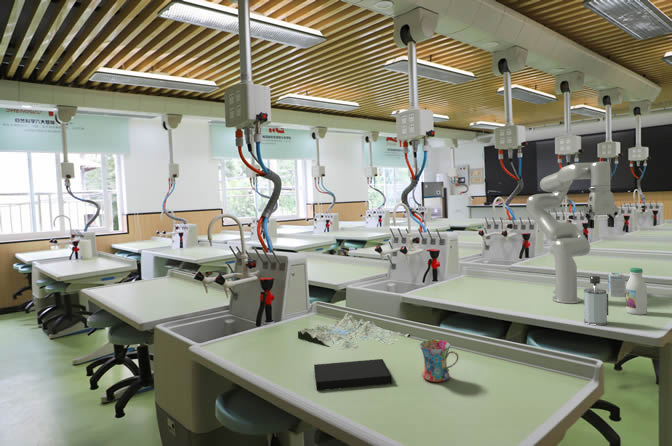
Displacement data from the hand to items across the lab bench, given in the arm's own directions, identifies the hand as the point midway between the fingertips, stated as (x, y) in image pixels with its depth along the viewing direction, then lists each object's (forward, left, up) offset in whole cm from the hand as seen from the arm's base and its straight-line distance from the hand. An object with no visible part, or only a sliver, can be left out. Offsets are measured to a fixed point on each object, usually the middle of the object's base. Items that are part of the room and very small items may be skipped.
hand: (600, 227), depth 196 cm
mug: (+52, -96, -38) cm, 116 cm away
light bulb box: (-26, +29, -39) cm, 55 cm away
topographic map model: (+5, -115, -39) cm, 122 cm away
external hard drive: (+45, -123, -39) cm, 136 cm away
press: (+14, -14, -38) cm, 43 cm away
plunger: (+14, -14, -34) cm, 39 cm away
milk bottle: (+6, +12, -38) cm, 41 cm away
